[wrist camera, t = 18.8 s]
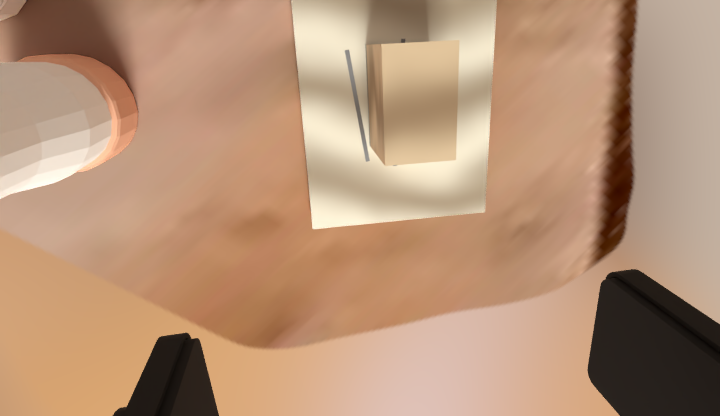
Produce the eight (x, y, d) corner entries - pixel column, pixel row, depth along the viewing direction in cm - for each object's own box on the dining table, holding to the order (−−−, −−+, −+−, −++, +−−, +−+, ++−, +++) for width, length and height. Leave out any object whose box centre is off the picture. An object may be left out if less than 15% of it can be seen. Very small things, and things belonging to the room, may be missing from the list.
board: (285, -63, 28) (284, -69, 27) (491, -68, 30) (500, -74, 28) (312, 222, 35) (312, 229, 34) (477, 205, 37) (484, 212, 35)
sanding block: (365, 44, 30) (381, 44, 24) (429, 41, 30) (459, 39, 25) (369, 145, 32) (385, 166, 27) (428, 140, 33) (455, 160, 27)
